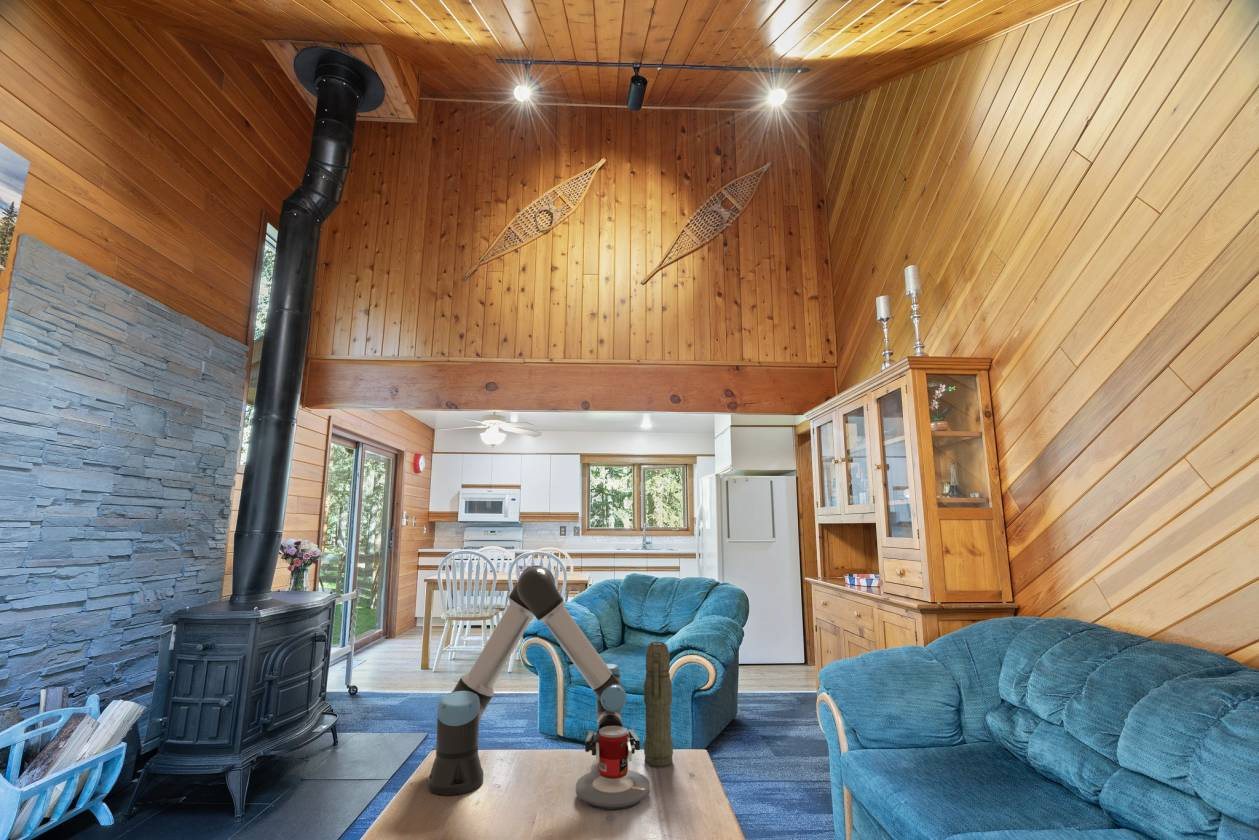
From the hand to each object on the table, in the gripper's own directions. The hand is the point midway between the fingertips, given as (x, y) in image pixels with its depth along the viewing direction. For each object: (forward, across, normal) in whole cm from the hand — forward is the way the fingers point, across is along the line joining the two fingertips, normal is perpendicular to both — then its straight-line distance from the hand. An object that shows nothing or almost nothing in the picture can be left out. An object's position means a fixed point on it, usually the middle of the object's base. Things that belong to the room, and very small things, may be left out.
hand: (614, 756), depth 161 cm
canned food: (-5, 0, -6) cm, 8 cm away
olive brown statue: (-27, -15, -12) cm, 33 cm away
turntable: (-5, 0, -10) cm, 11 cm away
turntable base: (-5, 0, -12) cm, 13 cm away
